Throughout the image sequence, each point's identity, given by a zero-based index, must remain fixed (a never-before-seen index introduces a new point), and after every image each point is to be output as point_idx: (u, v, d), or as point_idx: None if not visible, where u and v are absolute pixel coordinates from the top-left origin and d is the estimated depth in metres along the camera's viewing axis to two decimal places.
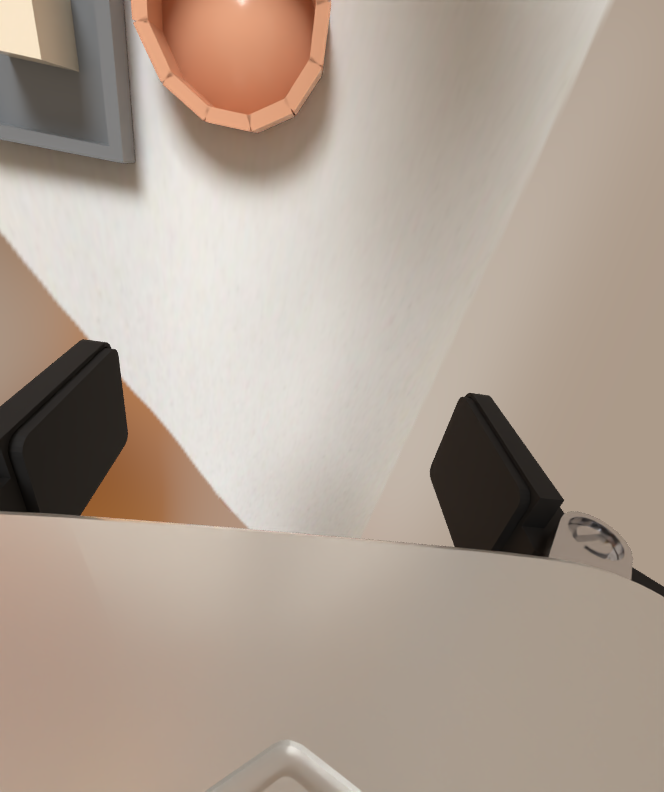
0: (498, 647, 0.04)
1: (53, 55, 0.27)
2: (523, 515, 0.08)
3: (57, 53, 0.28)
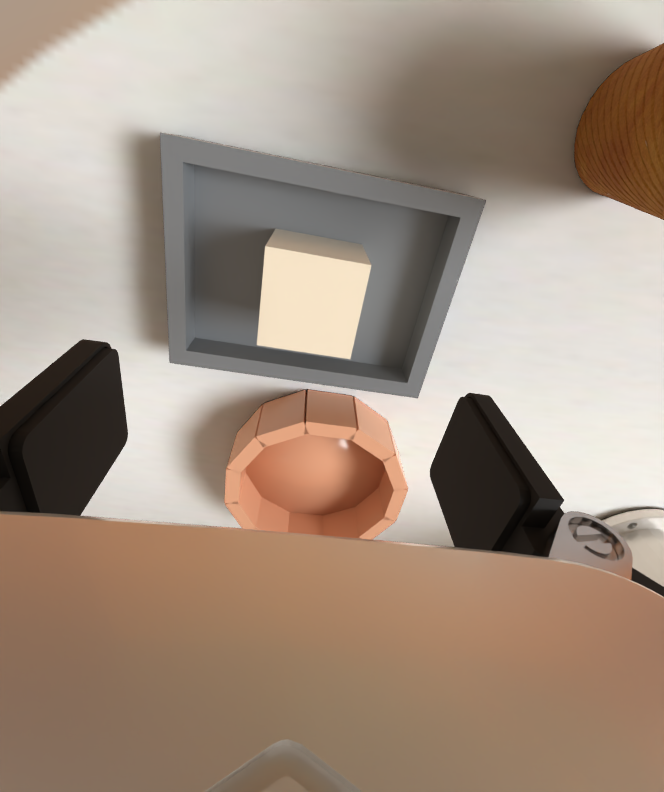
0: (498, 647, 0.04)
1: None
2: (523, 515, 0.08)
3: None
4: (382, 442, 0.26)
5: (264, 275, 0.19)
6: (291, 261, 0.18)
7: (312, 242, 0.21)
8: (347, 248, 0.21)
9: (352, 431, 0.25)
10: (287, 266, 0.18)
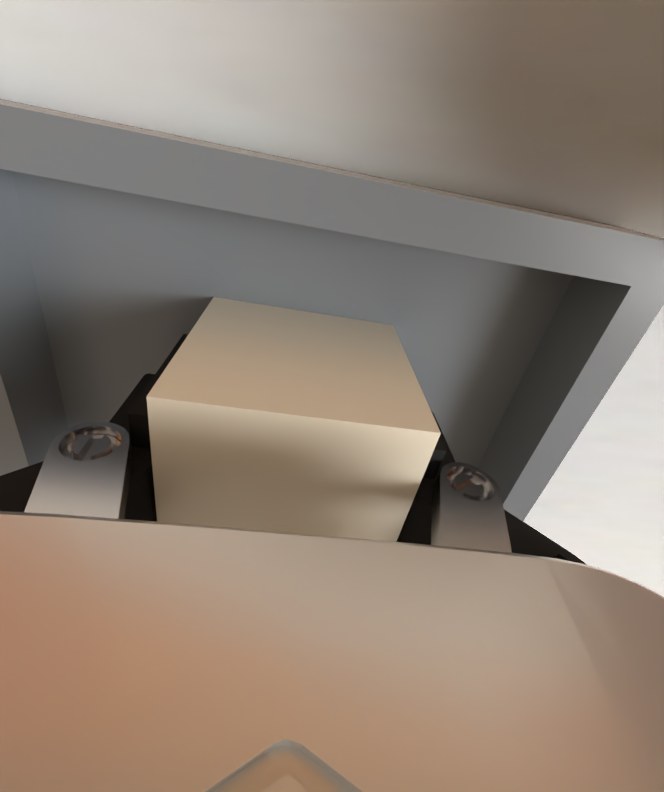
0: (497, 648, 0.04)
1: None
2: None
3: None
4: None
5: (156, 459, 0.07)
6: (225, 429, 0.07)
7: (288, 340, 0.09)
8: (367, 350, 0.09)
9: None
10: (215, 439, 0.07)
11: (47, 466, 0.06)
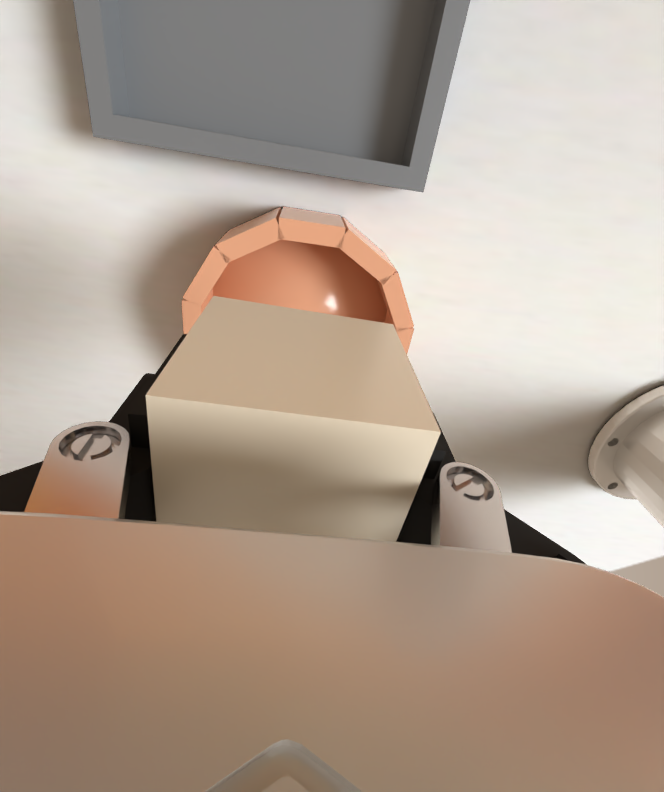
0: (498, 647, 0.04)
1: None
2: None
3: None
4: (379, 255, 0.21)
5: (156, 458, 0.07)
6: (224, 428, 0.07)
7: (288, 339, 0.09)
8: (367, 349, 0.09)
9: (340, 233, 0.20)
10: (215, 438, 0.07)
11: (47, 466, 0.06)
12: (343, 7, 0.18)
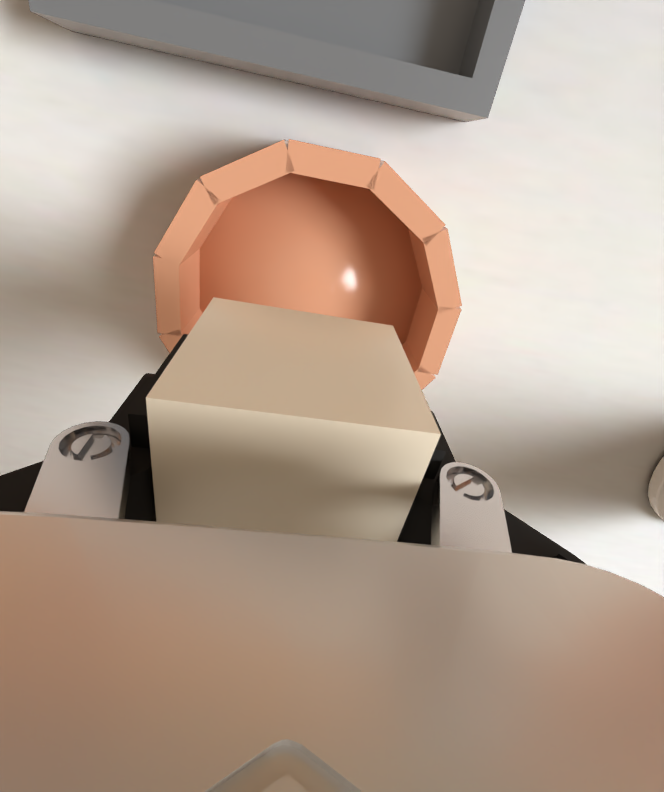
0: (497, 649, 0.04)
1: None
2: None
3: None
4: (424, 203, 0.15)
5: (156, 460, 0.07)
6: (225, 430, 0.07)
7: (288, 341, 0.09)
8: (367, 351, 0.09)
9: (373, 167, 0.14)
10: (215, 441, 0.07)
11: (47, 466, 0.06)
12: None
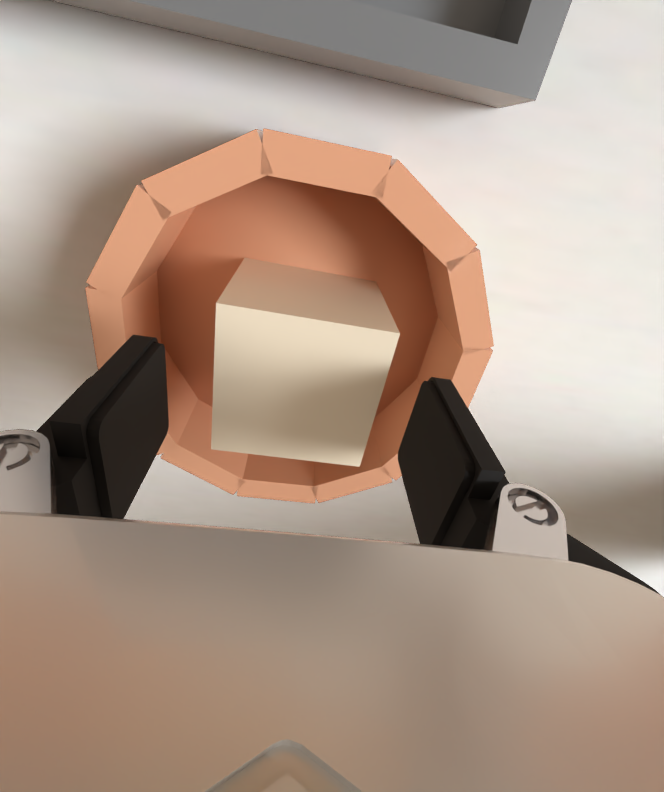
0: (497, 648, 0.04)
1: None
2: (469, 487, 0.08)
3: None
4: None
5: (217, 349, 0.11)
6: (263, 327, 0.11)
7: (300, 284, 0.13)
8: (356, 293, 0.13)
9: (381, 167, 0.10)
10: (256, 335, 0.11)
11: None
12: None
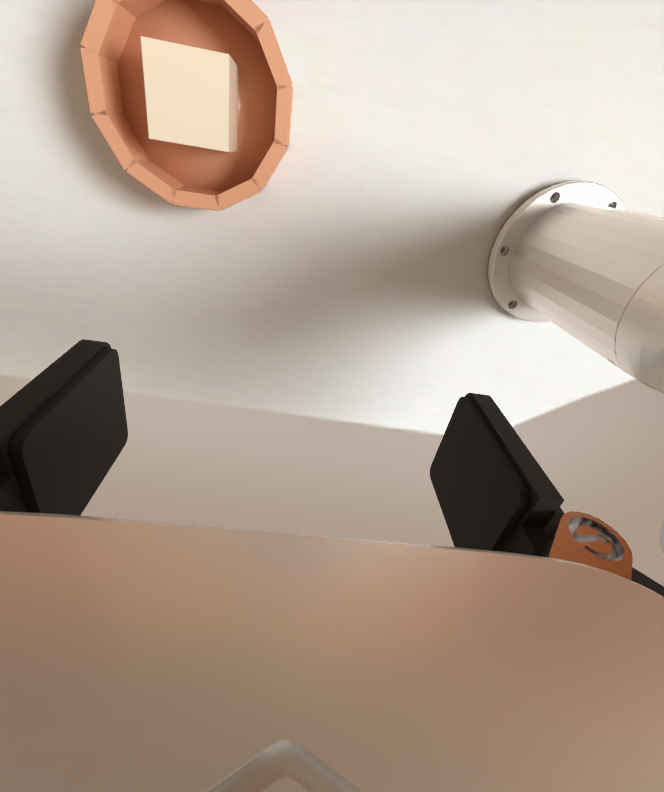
0: (497, 648, 0.04)
1: None
2: (523, 515, 0.08)
3: None
4: (251, 2, 0.24)
5: (144, 66, 0.23)
6: (164, 51, 0.23)
7: None
8: None
9: None
10: (161, 56, 0.23)
11: None
12: None
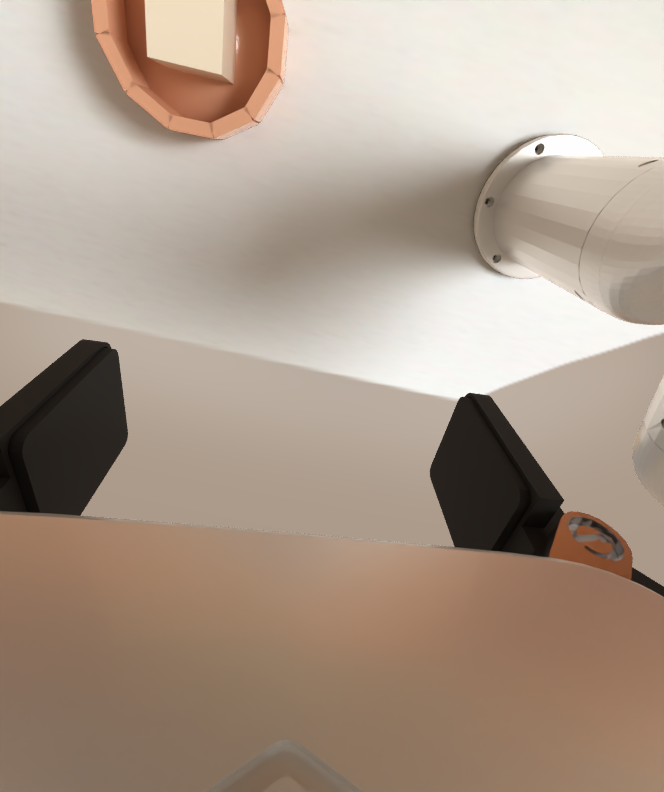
0: (497, 648, 0.04)
1: (161, 62, 0.28)
2: (523, 515, 0.08)
3: (167, 64, 0.29)
4: None
5: None
6: None
7: None
8: None
9: None
10: None
11: None
12: None
